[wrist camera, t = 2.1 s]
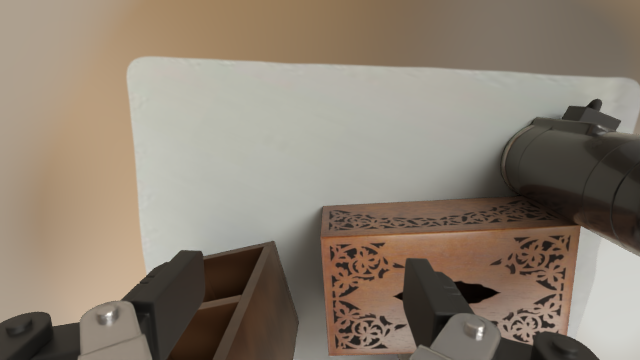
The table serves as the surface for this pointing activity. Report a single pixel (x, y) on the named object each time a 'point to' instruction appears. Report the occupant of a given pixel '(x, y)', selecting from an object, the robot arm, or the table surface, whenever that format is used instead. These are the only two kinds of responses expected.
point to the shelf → (242, 309)
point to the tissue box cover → (445, 267)
